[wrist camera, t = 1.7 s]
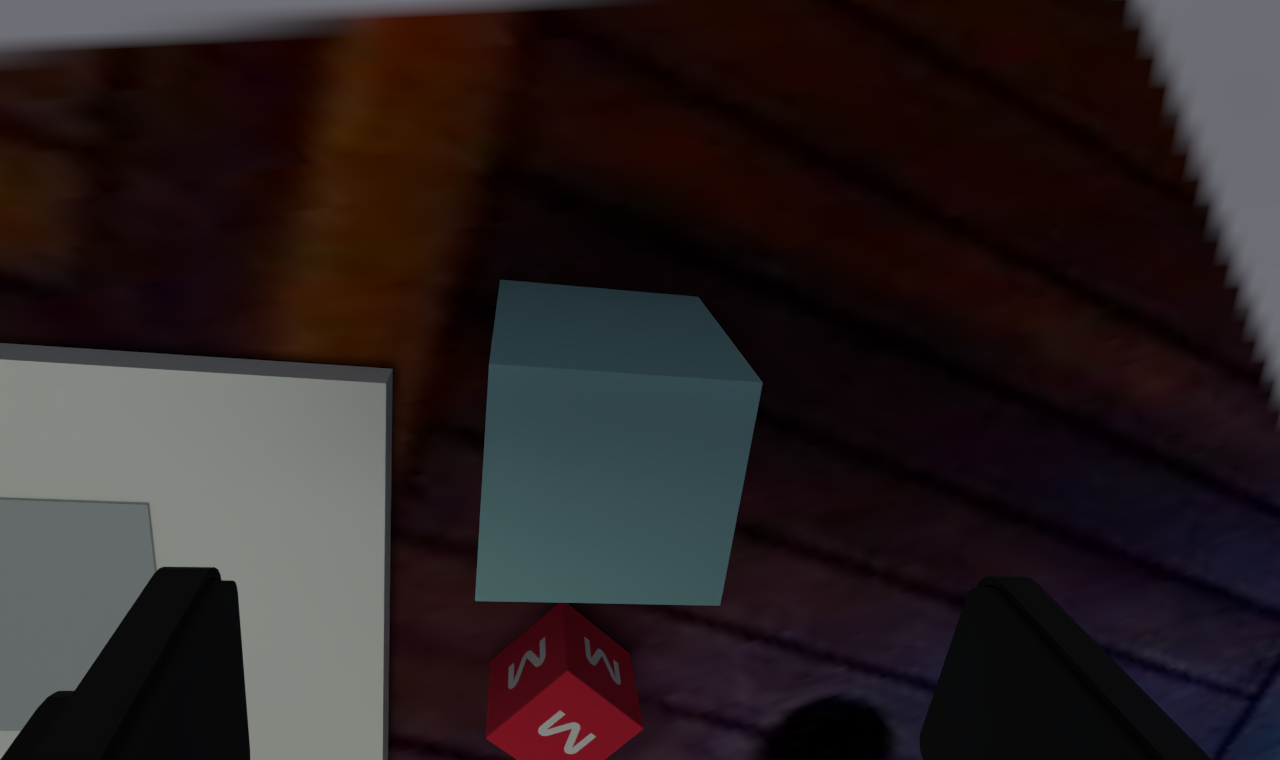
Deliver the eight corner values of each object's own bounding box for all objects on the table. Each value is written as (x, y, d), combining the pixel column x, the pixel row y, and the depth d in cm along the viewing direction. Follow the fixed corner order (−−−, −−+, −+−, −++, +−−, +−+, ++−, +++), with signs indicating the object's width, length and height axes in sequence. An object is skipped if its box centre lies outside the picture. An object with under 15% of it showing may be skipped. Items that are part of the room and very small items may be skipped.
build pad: (392, 368, 20) (385, 385, 19) (387, 786, 24) (381, 818, 23) (-491, 310, 17) (-557, 326, 16) (-295, 801, 21) (-336, 837, 20)
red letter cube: (490, 659, 23) (485, 738, 21) (562, 597, 23) (567, 670, 20) (559, 710, 24) (564, 792, 22) (630, 652, 24) (644, 728, 21)
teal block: (697, 296, 20) (762, 382, 15) (671, 469, 22) (720, 605, 16) (500, 278, 19) (489, 363, 14) (488, 461, 21) (474, 601, 15)
